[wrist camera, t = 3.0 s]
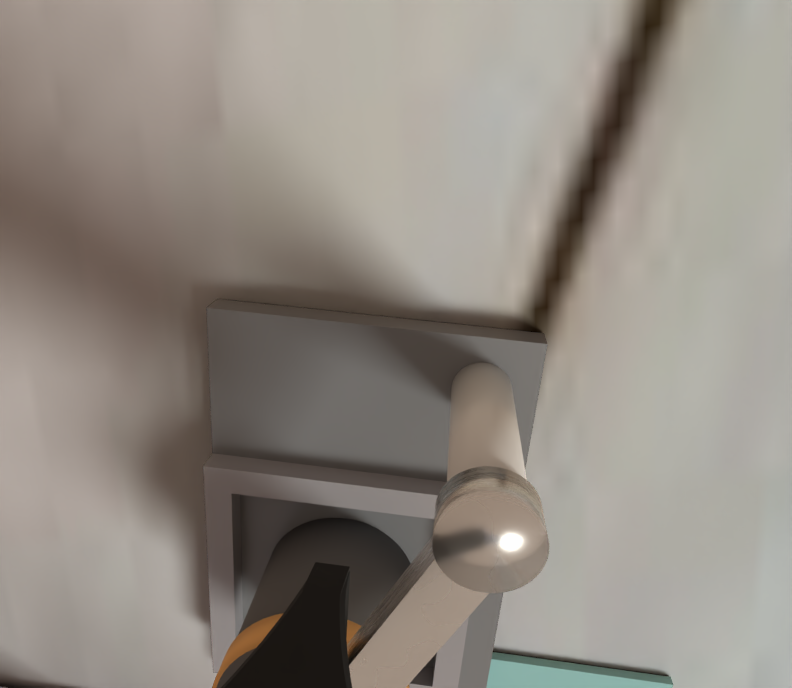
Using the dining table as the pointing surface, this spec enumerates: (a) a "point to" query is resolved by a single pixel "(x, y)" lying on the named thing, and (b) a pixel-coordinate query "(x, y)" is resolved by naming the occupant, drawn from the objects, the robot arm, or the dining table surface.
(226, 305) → the socket
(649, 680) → the mat
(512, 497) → the brushed metal lever
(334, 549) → the plug
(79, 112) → the dining table surface
